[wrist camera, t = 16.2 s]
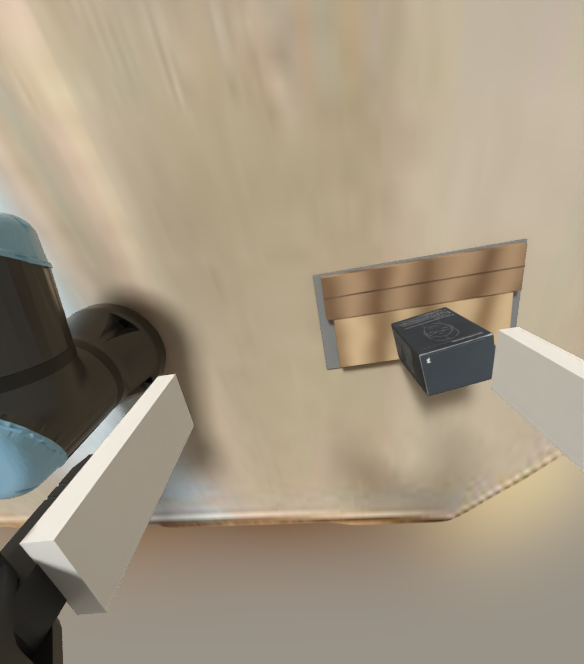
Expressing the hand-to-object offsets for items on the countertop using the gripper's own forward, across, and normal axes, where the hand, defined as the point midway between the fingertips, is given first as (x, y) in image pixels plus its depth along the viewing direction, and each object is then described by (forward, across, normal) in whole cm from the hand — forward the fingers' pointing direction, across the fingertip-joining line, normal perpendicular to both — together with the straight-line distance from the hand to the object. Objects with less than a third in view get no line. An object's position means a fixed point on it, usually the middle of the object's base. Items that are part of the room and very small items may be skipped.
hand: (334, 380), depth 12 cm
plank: (+29, +15, -12) cm, 35 cm away
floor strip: (+29, +15, -5) cm, 33 cm away
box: (+28, +15, -12) cm, 33 cm away
